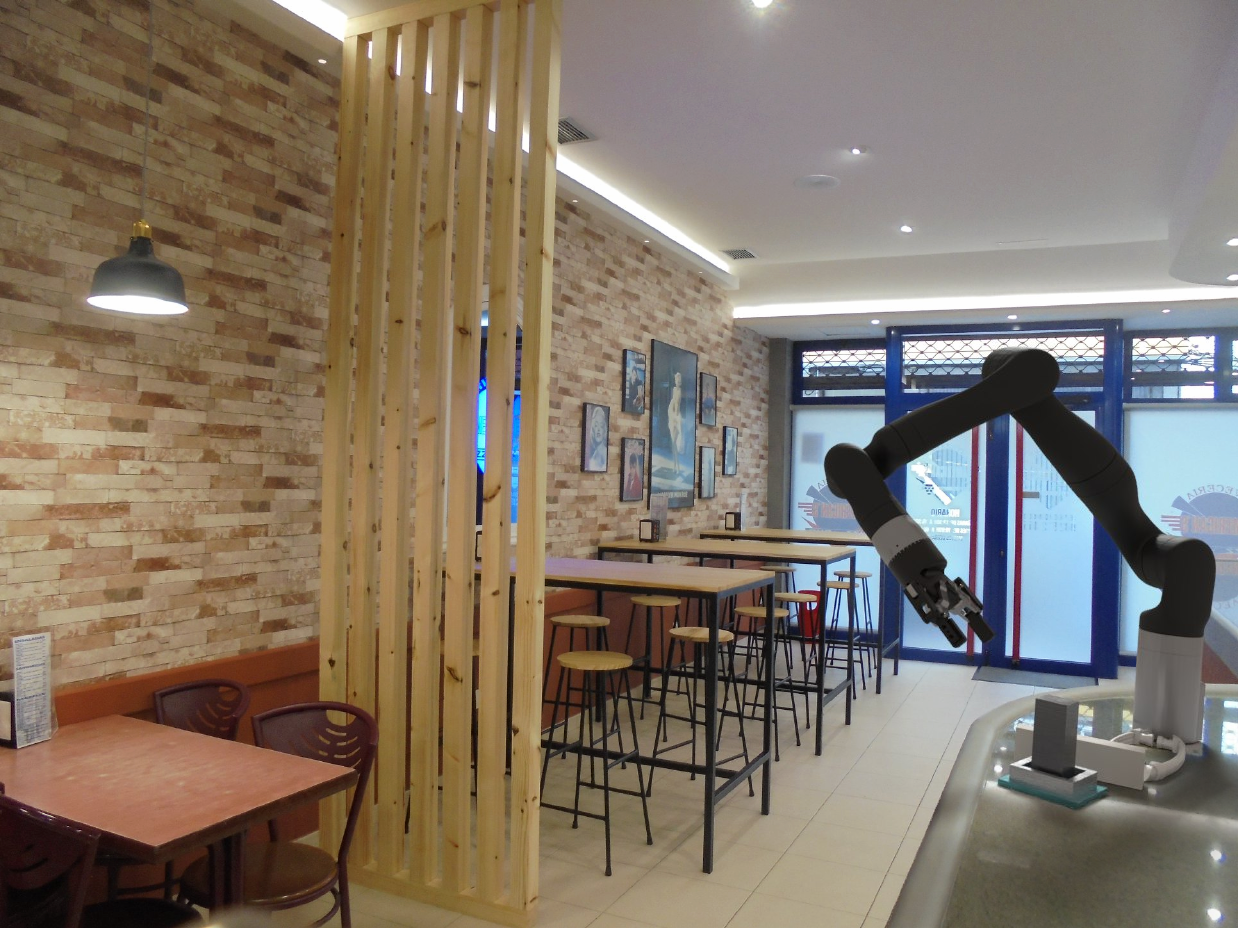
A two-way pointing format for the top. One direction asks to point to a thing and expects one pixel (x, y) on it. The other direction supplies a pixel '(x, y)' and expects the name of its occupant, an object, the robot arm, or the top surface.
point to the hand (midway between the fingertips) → (976, 642)
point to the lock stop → (1055, 735)
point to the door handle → (1157, 769)
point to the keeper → (1054, 784)
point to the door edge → (1095, 757)
